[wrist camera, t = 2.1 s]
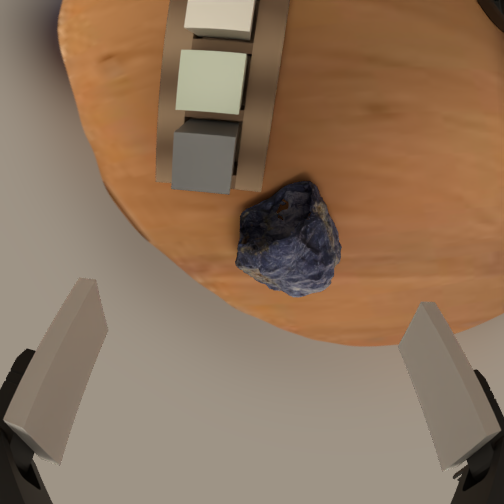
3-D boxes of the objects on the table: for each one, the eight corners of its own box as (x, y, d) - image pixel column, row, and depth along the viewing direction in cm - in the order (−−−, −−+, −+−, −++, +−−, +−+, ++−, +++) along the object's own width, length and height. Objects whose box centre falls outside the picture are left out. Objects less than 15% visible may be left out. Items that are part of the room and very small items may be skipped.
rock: (305, 158, 28) (327, 259, 23) (339, 212, 36) (358, 295, 31) (207, 200, 32) (208, 294, 28) (257, 240, 40) (264, 319, 36)
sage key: (196, 53, 22) (181, 49, 16) (247, 57, 22) (246, 53, 17) (191, 100, 24) (175, 109, 19) (241, 105, 24) (238, 114, 19)
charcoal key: (190, 118, 24) (173, 132, 19) (239, 122, 25) (235, 137, 20) (187, 163, 27) (171, 188, 21) (233, 168, 27) (229, 194, 22)
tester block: (186, -13, 21) (174, -26, 17) (286, -5, 22) (292, -18, 17) (168, 164, 31) (155, 181, 26) (259, 173, 31) (260, 192, 27)
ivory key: (205, -8, 19) (192, -28, 14) (256, -4, 19) (258, -24, 14) (199, 36, 21) (183, 27, 16) (250, 40, 21) (249, 31, 16)
